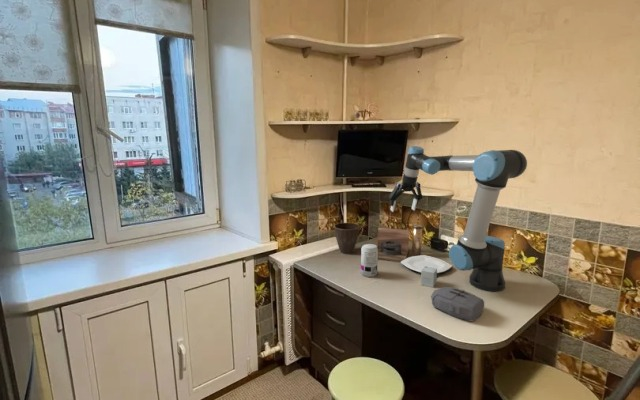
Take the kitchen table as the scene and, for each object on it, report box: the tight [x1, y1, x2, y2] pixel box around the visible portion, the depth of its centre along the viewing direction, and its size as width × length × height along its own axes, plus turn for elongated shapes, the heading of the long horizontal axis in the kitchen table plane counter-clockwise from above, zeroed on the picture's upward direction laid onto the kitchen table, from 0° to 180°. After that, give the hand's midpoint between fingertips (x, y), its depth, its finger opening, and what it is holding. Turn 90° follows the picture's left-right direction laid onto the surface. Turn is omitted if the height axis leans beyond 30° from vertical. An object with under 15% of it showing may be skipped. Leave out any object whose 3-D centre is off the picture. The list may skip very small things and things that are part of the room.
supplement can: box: [360, 243, 379, 278], centre depth 173 cm, size 8×8×15 cm
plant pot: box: [333, 222, 360, 254], centre depth 205 cm, size 15×15×16 cm
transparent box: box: [377, 227, 410, 263], centre depth 198 cm, size 18×18×14 cm
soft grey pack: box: [430, 286, 485, 322], centre depth 139 cm, size 15×8×20 cm
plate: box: [399, 254, 453, 274], centre depth 182 cm, size 23×23×2 cm
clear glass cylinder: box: [411, 224, 424, 257], centre depth 197 cm, size 5×5×18 cm
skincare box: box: [420, 266, 438, 288], centre depth 162 cm, size 6×6×7 cm
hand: (402, 210), depth 193 cm, fingers open, 13 cm apart
